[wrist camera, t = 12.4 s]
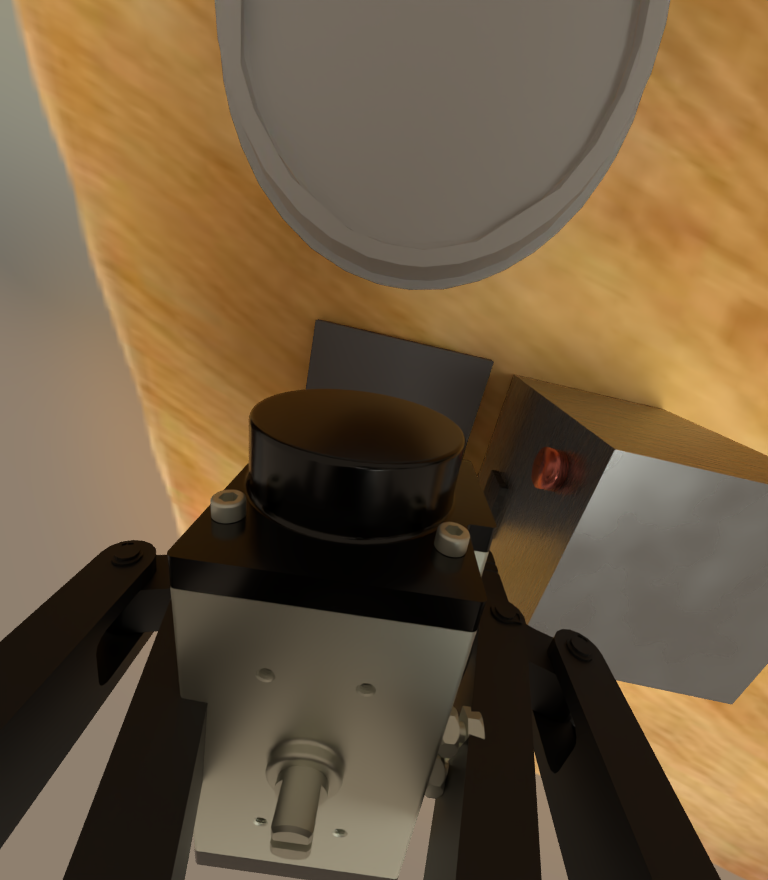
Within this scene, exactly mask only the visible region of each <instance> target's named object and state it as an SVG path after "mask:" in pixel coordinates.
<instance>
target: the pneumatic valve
mask: <svg viewBox="0 0 768 880" xmlns="http://www.w3.org/2000/svg"><path fill="white" fill-rule="evenodd" d="M465 445H466V440H465V436H464V434H463V432H462V430H461V429H460V428H459V427H458V425H456V424H455V423H454V422H453V421H452V420H450V419H449V418H447V417H446V416H444V415H442V414H441V413H439V412H437V411H435V410H432V409H430V408H428V407H425V406H423V405H420V404H417V403H414V402H411V401H407V400H404V399H400V398H396V397H392V396H388V395H383V394H377V393H371V392H364V391H356V390H344V389H306V390H296V391H290V392H285V393H281V394H277V395H274V396H271V397H268V398H266V399H264V400H263V401H261V402H259V403H258V404H257V405H256V406H254V408H253V409H252V410H251V413H250V416H249V463H248V464H247V465H246V466H245V467H244V468H243V470H242V471H241V472H240V473H239V474H238V475H237V476H236V477H235V478H234V479H233V480H232V482H231V483H230V484H229V485H228V486H227V487H226V488H225V489H224V490H223V491H220V492H217V493H216V494H214V495H213V496H212V498H211V504H210V506H209V507H208V508H207V509H206V510H205V511H204V512H203V513H202V514H201V515H200V516H199V518H198V519H197V520H196V521H195V522H194V523H193V524H192V525H191V526H190V527H189V528H188V530H187V531H186V532H185V533H184V534H183V535H182V536H181V537H180V538H179V539H178V540H177V542H176V543H175V544H174V545H173V546H172V547H171V548H170V549H169V550H168V552H167V557H168V568H169V578H170V589H171V600H172V611H173V622H174V632H175V643H176V654H177V665H178V675H179V686H180V695H181V697H182V698H184V699H190V700H195V701H200V702H205V703H208V707H207V722H206V738H205V753H204V769H203V783H202V788H201V793H200V799H199V804H198V810H197V815H196V820H195V826H194V831H193V837H194V848H195V858H196V863H197V864H200V865H207V866H213V867H221V868H227V869H235V870H242V871H249V872H256V873H263V874H270V875H278V876H284V877H291V878H299V879H306V880H397V879H398V877H399V873H400V870H401V867H402V864H403V861H404V858H405V855H406V851H407V848H408V845H409V842H410V839H411V836H412V832H413V829H414V826H415V823H416V820H417V817H418V814H419V811H420V808H421V804H422V801H423V798H424V795H426V796H427V797H428V798H435V799H436V798H439V797H440V796H442V794H443V791H444V784H445V781H446V778H447V774H448V769H449V762H447V761H448V760H449V759H450V758H452V757H453V756H455V755H456V754H457V751H458V747H459V748H460V747H461V745H462V744H463V743H464V742H465V741H466V740H467V738H468V737H469V734H471V735H474V736H477V737H480V738H482V739H485V732H484V723H483V719H482V715H481V713H480V712H473V711H471V707H468V706H463V707H462V710H461V713H460V716H459V717H458V712H457V710H456V708H455V707H454V706H453V704H454V701H455V698H456V695H457V691H458V688H459V685H460V682H461V679H462V676H463V673H464V669H465V666H466V663H467V660H468V657H469V654H470V651H471V648H472V644H473V641H474V638H475V635H476V632H477V629H478V626H479V622H480V619H481V616H482V613H483V610H484V607H485V604H486V600H487V596H486V593H485V589H484V585H483V582H482V578H481V576H482V573H483V570H484V566H485V563H486V560H487V557H488V553H489V550H490V547H491V543H492V540H493V537H494V533H495V530H496V527H497V525H496V522H495V520H494V517H493V515H492V512H491V510H490V508H489V505H488V503H487V500H486V498H485V495H484V493H483V490H482V488H481V485H480V483H479V480H478V478H477V475H476V473H475V470H474V468H473V465H472V463H471V462H470V461H468V460H462V458H463V454H464V450H465ZM444 758H445V760H444Z"/></svg>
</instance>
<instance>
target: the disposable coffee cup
mask: <svg viewBox="0 0 768 880" xmlns="http://www.w3.org/2000/svg"><path fill="white" fill-rule="evenodd" d="M669 4H670V0H215V9H216V22H217V34H218V42H219V46H220V51H221V61H222V70H223V80H224V85H225V90H226V95H227V99H228V104H229V109H230V113H231V117H232V119H233V122H234V125H235V128H236V131H237V134H238V137H239V140H240V143H241V146H242V149H243V151H244V153H245V155H246V157H247V159H248V162H249V164H250V166H251V168H252V170H253V172H254V174H255V177H256V179H257V181H258V183H259V185H260V186H261V188H262V189H263V191H264V192H265V194H266V195H267V197H268V198H269V199H270V201H271V202H272V204H273V205H274V207H275V208H276V210H277V211H278V212H279V214H280V215H281V217H282V218H283V219H284V220H285V221H286V223H287V224H288V225H289V226H290V227H291V228H292V229H293V230H294V231H295V232H296V233H297V234H298V235H299V236H300V237H301V238H302V239H303V240H304V241H305V242H306V243H307V244H308V245H309V246H310V247H311V248H312V249H313V250H315V251H316V252H318V253H319V254H321V255H322V256H324V257H325V258H327V259H328V260H330V261H331V262H333V263H334V264H336V265H337V266H339V267H340V268H342V269H343V270H345V271H347V272H349V273H352V274H354V275H357V276H359V277H362V278H364V279H367V280H369V281H372V282H374V283H377V284H380V285H385V286H390V287H396V288H402V289H408V290H420V289H447V288H451V287H455V286H460V285H464V284H468V283H472V282H477V281H480V280H482V279H485V278H487V277H489V276H492V275H494V274H496V273H499V272H501V271H504V270H506V269H507V268H509V267H511V266H512V265H514V264H516V263H517V262H519V261H520V260H522V259H524V258H525V257H527V256H529V255H530V254H532V253H534V252H535V251H536V250H537V249H539V248H540V247H541V246H542V245H543V244H545V243H546V242H547V241H548V240H549V239H551V238H552V237H553V236H554V235H555V234H557V233H558V232H559V231H560V230H561V229H562V228H563V227H564V226H565V224H566V223H567V222H568V221H569V220H570V219H571V218H572V217H573V216H574V215H575V214H576V213H577V212H578V211H579V210H580V209H581V208H582V207H583V205H584V204H585V202H586V201H587V200H588V198H589V197H590V195H591V194H592V193H593V191H594V190H595V189H596V187H597V186H598V184H599V183H600V182H601V180H602V179H603V177H604V176H605V174H606V172H607V171H608V169H609V167H610V166H611V164H612V162H613V161H614V159H615V157H616V156H617V153H618V151H619V149H620V147H621V145H622V143H623V141H624V139H625V137H626V135H627V133H628V131H629V129H630V127H631V125H632V123H633V120H634V117H635V114H636V111H637V108H638V105H639V102H640V99H641V96H642V93H643V90H644V88H645V86H646V83H647V81H648V79H649V77H650V75H651V72H652V68H653V65H654V62H655V58H656V55H657V52H658V48H659V45H660V42H661V38H662V35H663V32H664V28H665V25H666V21H667V15H668V9H669Z"/></svg>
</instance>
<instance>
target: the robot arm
mask: <svg viewBox="0 0 768 880" xmlns="http://www.w3.org/2000/svg"><path fill="white" fill-rule="evenodd" d="M495 564H496V563H495V560H494V557H493V554H492V552H491V551H490V550H489V553H488V557H487V560H486V563H485V566H484V570H483V573H482V576H481V578H482V582H483V585H484V589H485V593H486V596H487V600H486V604H485V607H484V610H483V613H482V616H481V619H480V622H479V626H478V629H477V632H476V635H475V638H474V641H473V644H472V648H471V651H470V654H469V657H468V660H467V663H466V666H465V669H464V673H463V676H462V679H461V682H460V685H459V688H458V691H457V695H456V698H455V701H454V704H453V706H454V707H455V708H456V710H457V712H458V717H459V716H460V713H461V710H462V707H463V706H468V707H471V711H473V712H480V713H481V715H482V719H483V723H484V732H485V739H482V738H480V737H477V736H474V735H471V734H469V737H468V738H467V740H466V741H465V742H464V743H463V744H462V745H461V747H460V748H459V747H458V751H457V754H456V755H455V756H453V757H452V758H450V759H449V760H448V761H447V762H449V769H448V774H447V778H446V781H445V784H444V791H443V794H442V796H440V797H439V798H436V800H435V806H434V813H433V820H432V826H431V833H430V839H429V846H428V853H427V860H426V867H425V873H424V879H423V880H541V863H540V847H539V831H538V814H537V797H536V779H535V762H534V752H535V756H536V759H537V763H538V767H539V771H540V774H541V778H542V781H543V786H544V790H545V793H546V797H547V801H548V804H549V808H550V812H551V815H552V820H553V823H554V827H555V831H556V834H557V838H558V842H559V846H560V849H561V853H562V857H563V861H564V865H565V869H566V872H567V876H568V880H721V879H720V877H719V875H718V873H717V871H716V869H715V868H714V866H713V864H712V862H711V860H710V858H709V856H708V854H707V852H706V851H705V849H704V847H703V845H702V843H701V841H700V839H699V837H698V835H697V833H696V832H695V830H694V828H693V826H692V824H691V822H690V820H689V818H688V816H687V814H686V813H685V811H684V809H683V807H682V805H681V803H680V801H679V799H678V797H677V795H676V794H675V792H674V790H673V788H672V786H671V784H670V782H669V780H668V778H667V777H666V775H665V773H664V771H663V769H662V767H661V765H660V763H659V761H658V759H657V758H656V756H655V754H654V752H653V750H652V748H651V746H650V744H649V742H648V740H647V739H646V737H645V735H644V733H643V731H642V729H641V727H640V725H639V723H638V722H637V720H636V718H635V716H634V714H633V712H632V710H631V708H630V706H629V704H628V703H627V701H626V699H625V697H624V695H623V693H622V691H621V689H620V687H619V685H618V684H617V682H616V680H615V678H614V676H613V674H612V672H611V670H610V668H609V667H608V665H607V663H606V661H605V659H604V657H603V655H602V654H601V652H600V651H599V649H598V648H597V647H596V646H595V645H594V644H593V643H592V642H591V641H590V640H589V639H588V638H586V637H585V636H583V635H582V634H580V633H578V632H575V631H573V630H570V629H561V630H559V631H557V632H556V634H555V635H554V637H551V636H549V635H547V634H545V633H542V632H540V631H538V630H536V629H534V628H532V627H531V626H529V625H527V624H526V621H525V618H524V616H523V614H522V613H521V612H520V610H519V609H518V608H517V607H515V606H514V605H513V604H512V603H510V602H509V601H508V598H507V595H506V592H505V590H504V587H503V584H502V581H501V578H500V575H499V574H498V569H497V566H496V565H495ZM154 631H158V633H157V636H156V638H155V641H154V644H153V646H152V649H151V651H150V654H149V657H148V660H147V662H146V664H145V667H144V670H143V673H142V675H141V678H140V680H139V683H138V685H137V688H136V690H135V693H134V696H133V698H132V701H131V704H130V706H129V709H128V711H127V714H126V716H125V719H124V722H123V724H122V727H121V730H120V732H119V735H118V737H117V740H116V743H115V745H114V748H113V750H112V753H111V755H110V758H109V761H108V763H107V766H106V769H105V771H104V774H103V776H102V779H101V781H100V784H99V787H98V790H97V792H96V794H95V797H94V800H93V802H92V805H91V807H90V810H89V813H88V816H87V818H86V820H85V823H84V826H83V828H82V831H81V834H80V836H79V839H78V841H77V844H76V847H75V849H74V852H73V854H72V857H71V859H70V862H69V865H68V867H67V870H66V872H65V875H64V878H63V880H184V879H185V874H186V869H187V864H188V858H189V853H190V847H191V842H192V837H193V831H194V826H195V820H196V815H197V810H198V804H199V799H200V793H201V788H202V783H203V769H204V753H205V738H206V722H207V707H208V703H205V702H200V701H195V700H190V699H184V698H182V697H181V695H180V686H179V675H178V665H177V654H176V643H175V632H174V622H173V611H172V600H171V589H170V578H169V568H168V557H167V555H156V549H155V547H153V545H152V544H150V543H148V542H145V541H138V540H131V541H124V542H120V543H117V544H114V545H112V546H110V547H108V548H107V549H105V550H104V551H102V552H101V553H100V554H99V555H97V556H96V557H95V558H94V559H93V560H92V561H91V562H90V563H88V564H87V565H86V566H85V567H84V568H83V569H82V570H81V571H79V572H78V573H77V574H76V575H75V576H74V577H73V578H72V579H70V581H68V582H67V583H66V584H65V585H64V586H63V587H61V588H60V589H59V590H58V591H57V592H56V593H55V594H54V595H52V596H51V597H50V598H49V599H48V600H47V601H46V602H44V603H43V604H42V605H41V606H40V607H39V608H38V609H37V610H35V611H34V613H32V614H31V615H30V616H29V617H28V618H27V619H25V620H24V621H23V622H22V623H21V624H20V625H19V626H18V627H16V628H15V629H14V630H13V631H12V632H11V633H10V634H8V635H7V636H6V637H5V638H4V639H3V640H2V641H1V642H0V848H1V847H2V846H3V844H4V842H5V841H6V840H7V839H8V837H9V836H10V834H11V833H12V832H13V830H14V829H15V827H16V826H17V825H18V823H19V821H20V820H21V819H22V817H23V816H24V815H25V813H26V812H27V810H28V809H29V808H30V806H31V805H32V803H33V802H34V800H35V799H36V798H37V796H38V794H39V793H40V792H41V791H42V789H43V788H44V786H45V785H46V783H47V782H48V781H49V779H50V778H51V776H52V775H53V774H54V772H55V771H56V769H57V768H58V767H59V765H60V764H61V762H62V761H63V760H64V758H65V757H66V755H67V754H68V752H69V751H70V750H71V748H72V746H73V745H74V744H75V743H76V741H77V740H78V738H79V737H80V735H81V734H82V733H83V731H84V730H85V728H86V727H87V725H88V724H89V723H90V721H91V720H92V719H93V717H94V716H95V714H96V713H97V711H98V710H99V709H100V707H101V706H102V704H103V703H104V701H105V700H106V699H107V697H108V696H109V695H110V693H111V692H112V690H113V689H114V687H115V686H116V684H117V683H118V681H119V680H120V679H121V677H122V676H123V675H124V673H125V672H126V670H127V669H128V667H129V666H130V665H131V663H132V662H133V660H134V659H135V658H136V656H137V655H138V654H139V652H140V651H141V649H142V648H143V646H144V645H145V644H146V642H147V641H148V639H149V638H150V637H151V635H152V633H153V632H154ZM444 760H445V758H444Z"/></svg>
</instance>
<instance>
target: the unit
mask: <svg viewBox="0 0 768 880" xmlns="http://www.w3.org/2000/svg"><path fill="white" fill-rule="evenodd" d="M477 478H478V480H479V483H480V485H481V488H482V490H483V493H484V495H485V498H486V500H487V503H488V505H489V508H490V510H491V512H492V515H493V517H494V520H495V522H496V525H497V527H496V530H495V533H494V537H493V540H492V543H491V547H490V551H491V552H492V554H493V557H494V560H495V563H496V564H495V565H496V566H497V569H498V574H499V575H500V578H501V581H502V584H503V587H504V590H505V592H506V595H507V598H508V601H509V602H510V603H512V604H513V605H514V606H515V607H517V608H518V609H519V610H520V612H521V613H522V614H523V616H524V618H525V621H526V624H527V625H529V626H531V627H532V628H534V629H536V630H538V631H540V632H542V633H545V634H547V635H549V636H551V637H554V635H555V634H556V632H557V631H559V630H561V629H570V630H573V631H575V632H578V633H580V634H582V635H583V636H585V637H586V638H588V639H589V640H590V641H591V642H592V643H593V644H594V645H595V646H596V647H597V648H598V649H599V651H600V652H601V654H602V655H603V657H604V659H605V661H606V663H607V665H608V667H609V668H610V670H611V672H612V674H613V676H614V678H615V680H618V681H623V682H627V683H632V684H637V685H642V686H647V687H651V688H656V689H661V690H666V691H670V692H675V693H680V694H685V695H690V696H694V697H699V698H704V699H709V700H713V701H718V702H723V703H728V704H733V703H734V702H735V700H736V699H737V698H738V697H739V696H740V695H741V694H742V692H743V691H744V690H745V689H746V688H747V687H748V686H749V684H750V683H751V682H752V681H753V680H754V679H755V678H756V676H757V675H758V674H759V673H760V672H761V671H762V670H763V668H764V667H765V666H766V665H767V664H768V456H767V455H764V454H762V453H760V452H758V451H755V450H753V449H751V448H749V447H747V446H744V445H742V444H740V443H738V442H735V441H733V440H731V439H729V438H726V437H724V436H722V435H720V434H717V433H715V432H713V431H711V430H708V429H706V428H704V427H702V426H700V425H697V424H695V423H693V422H691V421H688V420H686V419H684V418H682V417H679V416H677V415H675V414H673V413H670V412H668V411H666V410H664V409H659V408H655V407H651V406H646V405H642V404H638V403H634V402H629V401H625V400H621V399H617V398H612V397H608V396H604V395H599V394H595V393H591V392H587V391H582V390H578V389H574V388H570V387H565V386H561V385H557V384H552V383H548V382H544V381H540V380H535V379H531V378H527V377H523V376H518V375H514V376H513V379H512V382H511V385H510V387H509V390H508V393H507V396H506V399H505V402H504V404H503V407H502V410H501V413H500V416H499V418H498V421H497V424H496V427H495V430H494V432H493V435H492V438H491V441H490V444H489V446H488V449H487V452H486V455H485V458H484V461H483V463H482V466H481V469H480V472H479V475H478V477H477Z"/></svg>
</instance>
